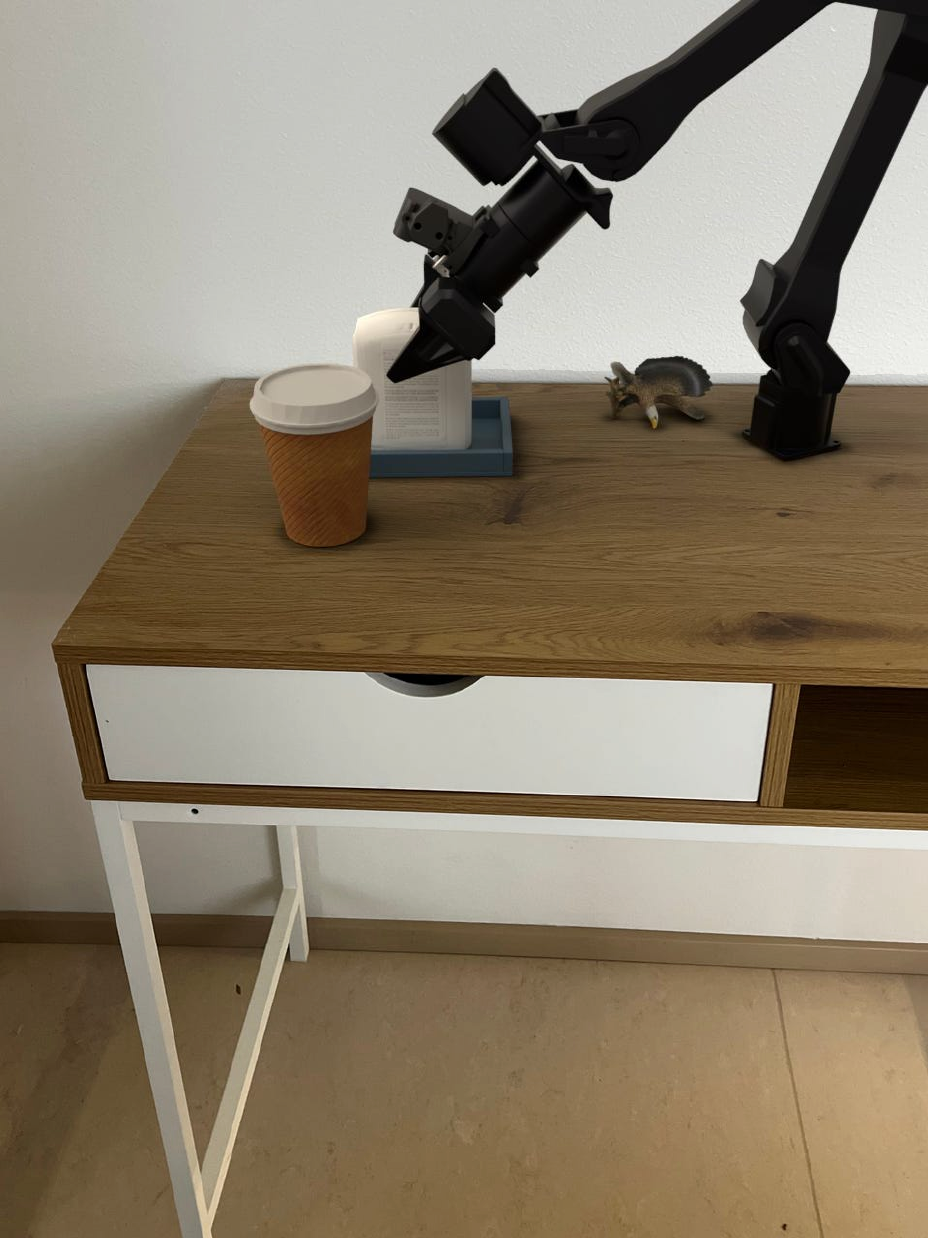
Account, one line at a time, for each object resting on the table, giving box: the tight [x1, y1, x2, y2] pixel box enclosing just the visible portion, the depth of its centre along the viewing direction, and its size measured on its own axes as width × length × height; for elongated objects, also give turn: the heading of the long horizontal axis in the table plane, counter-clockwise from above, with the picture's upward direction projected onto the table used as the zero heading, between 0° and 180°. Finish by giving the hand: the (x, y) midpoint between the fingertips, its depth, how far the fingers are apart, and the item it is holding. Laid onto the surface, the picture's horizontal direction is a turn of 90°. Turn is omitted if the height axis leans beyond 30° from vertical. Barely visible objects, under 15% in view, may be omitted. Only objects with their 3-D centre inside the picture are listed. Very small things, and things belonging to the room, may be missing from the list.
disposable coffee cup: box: [249, 362, 379, 548], centre depth 87 cm, size 10×10×12 cm
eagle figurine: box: [604, 355, 713, 429], centre depth 106 cm, size 8×7×9 cm
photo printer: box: [351, 307, 473, 451], centre depth 99 cm, size 10×4×12 cm, turn 89°
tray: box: [369, 396, 514, 479], centre depth 103 cm, size 18×13×2 cm
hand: (393, 359), depth 99 cm, fingers open, 9 cm apart
